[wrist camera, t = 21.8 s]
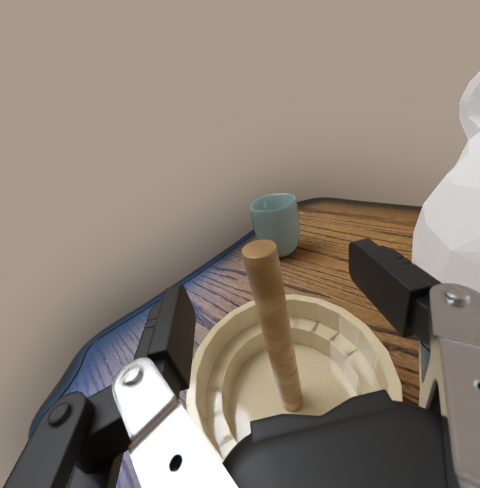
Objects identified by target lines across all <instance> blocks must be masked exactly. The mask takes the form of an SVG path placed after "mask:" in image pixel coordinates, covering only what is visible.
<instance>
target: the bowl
mask: <svg viewBox="0 0 480 488" xmlns="http://www.w3.org/2000/svg"><path fill="white" fill-rule="evenodd" d="M285 297H286V303H287V309H288V314H289V320H290V326H291V332H292V338H293V343H294V349H295V355H296V361H297V366H298V372H299V378H300V384H301V390H302V395H303V405H302V407H301V408H300V409H299V410H297V411H295V412H291V411H288V410H286V409H285V408H284V407H283V406H282V404H281V401H280V397H279V393H278V390H277V386H276V382H275V378H274V374H273V370H272V367H271V363H270V359H269V355H268V351H267V348H266V344H265V340H264V336H263V332H262V328H261V325H260V321H259V317H258V313H257V309H256V306H255V302H254V300H253V301H250V302H248V303H246V304H244V305H242V306H240V307H238V308H236V309H235V310H233V311H231V312H230V313H228V314H227V315H226V316H225V317H224V318H223V319H222V320H220V321H219V322H218V323H217V324H216V325H215V326H213V328H212V329H211V330H210V332H209V333H208V334H207V336H206V337H205V339H204V340H203V342H202V343H201V344H200V346H199V347H198V349H197V351H196V354H195V357H194V359H193V362H192V366H191V377H190V388H189V389H187V395H186V410H187V413H188V415H189V416H190V417H191V419H192V420H193V422H194V423H195V425H196V426H197V428H198V429H199V431H200V432H201V434H202V435H203V437H204V438H205V440H206V441H207V442H208V444H209V445H210V447H211V448H212V450H213V451H214V453H215V454H216V456H217V457H218V459H219V460H220V462H221V463H223V461H224V459H225V458H226V456H227V455H228V454H229V452H230V451H231V450H232V448H233V447H234V446H235V445H236V444H237V443H238V442H239V441H241V440H242V439H243V438H244V437H245V436H247V435H249V434H250V433H251V428H250V421H253V420H258V419H262V418H266V417H270V416H274V415H279V414H299V415H315V416H319V415H323V414H325V413H326V412H328V411H330V410H331V409H333V408H335V407H336V406H338V405H339V404H341V403H343V402H344V401H346V400H348V399H349V398H351V397H354V396H358V395H362V394H366V393H370V392H375V391H379V390H383V389H385V390H386V391H387V393H388V394H389V396H390V397H391V399H392V400H396V401H402V402H403V396H402V384H401V382H400V379H399V377H398V374H397V372H396V369H395V367H394V364H393V362H392V360H391V357H390V355H389V352H388V351H387V349H386V348H385V347H384V346H383V344H382V343H381V342H380V341H379V339H378V338H377V337H376V336H375V334H374V333H373V332H372V331H371V329H370V328H369V327H368V326H367V325H366V324H365V323H363V322H362V321H360V320H359V319H358V318H356V317H355V316H354V315H352V314H351V313H350V312H348V311H347V310H345V309H344V308H342V307H339V306H337V305H334V304H332V303H330V302H327V301H325V300H322V299H319V298H314V297H309V296H303V295H297V294H296V295H295V294H289V295H285Z"/></svg>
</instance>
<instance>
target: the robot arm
mask: <svg viewBox="0 0 480 488" xmlns="http://www.w3.org/2000/svg"><path fill="white" fill-rule="evenodd" d="M349 273H350V276H351V279H352V280H353V282H354V283H355V284H356V285H357V286H358V288H359V289H360V290H361V291H362V292H363V293H364V294H365V295H366V297H367V298H368V299H369V300H370V301H371V302H372V303H373V305H374V306H375V307H376V308H377V309H378V310H379V311H380V312H381V314H382V315H383V316H384V317H385V318H386V319H387V320H388V321H389V323H390V324H391V325H392V326H393V327H394V328H395V329H396V330H397V332H398V333H399V334H400V335H401V336H402V337H403V338H404V337H408V336H412V335H416V336H417V337H418V339H419V343H418V352H419V380H420V395H419V405H418V406H417V405H414V404H410V403H407V402H402V401H396V400H392V399H391V397H390V396H389V394H388V393H387V391H386V390H385V389H383V390H379V391H375V392H370V393H366V394H362V395H358V396H354V397H351V398H349V399H348V400H346V401H344V402H343V403H341V404H339V405H338V406H336V407H335V408H333V409H331V410H330V411H328V412H326V413H325V414H323V415H319V416H315V415H299V414H279V415H274V416H270V417H266V418H262V419H258V420H253V421H250V428H251V433H250V434H249V435H247V436H245V437H244V438H243V439H242V440H241V441H239V442H238V443H237V444H236V445H235V446H234V447H233V448H232V450H231V451H230V452H229V454H228V455H227V456H226V458H225V459H224V461H223V463H221V462H220V460H219V459H218V457H217V456H216V454H215V453H214V451H213V450H212V448H211V447H210V445H209V444H208V442H207V441H206V440H205V438H204V437H203V435H202V434H201V432H200V431H199V429H198V428H197V426H196V425H195V423H194V422H193V420H192V419H191V417H190V416H189V415H188V413H187V412H186V410H185V409H184V407H183V406H182V404H181V403H180V401H179V394H180V391H182V390H186V389H189V388H190V377H191V366H192V356H193V345H194V334H195V323H196V317H195V311H194V308H193V306H192V303H191V301H190V299H189V297H188V294H187V292H186V290H185V288H184V286H183V285H178V286H174V287H170V288H166V289H165V292H164V296H163V299H162V301H158V302H156V304H155V305H154V306H153V308H152V309H151V310H150V312H149V315H148V318H147V322H146V324H145V327H144V330H143V333H142V336H141V339H140V342H139V345H138V347H137V350H136V353H135V356H134V359H133V361H131V362H129V363H128V364H126V365H125V366H124V367H123V368H122V369H121V370H120V371H119V372H118V374H117V375H116V377H115V379H114V381H113V383H112V385H110V386H108V387H107V388H105V389H103V390H101V391H99V392H97V393H96V394H94V395H92V396H90V397H88V398H87V397H86V396H85V395H84V394H83V393H82V392H79V391H75V392H71V393H69V394H66V395H65V396H63V397H61V398H60V399H58V400H57V401H56V402H55V403H54V404H52V405H51V406H50V407H49V408H48V410H47V411H46V412H45V413H44V414H43V416H42V417H41V419H40V420H39V422H38V424H37V426H36V428H35V429H34V431H33V433H32V435H31V437H30V439H29V440H28V442H27V444H26V446H25V448H24V450H23V451H22V453H21V455H20V457H19V459H18V461H17V462H16V464H15V466H14V468H13V470H12V472H11V473H10V475H9V477H8V479H7V481H6V483H5V485H4V486H3V488H66V487H67V488H116V484H117V479H118V475H119V471H120V466H121V462H122V458H123V453H124V452H125V451H127V450H129V454H130V457H131V459H132V462H133V465H134V467H135V470H136V473H137V475H138V478H139V481H140V483H141V486H142V488H480V293H479V292H477V291H476V290H474V289H471V288H469V287H466V286H463V285H459V284H453V283H441V282H440V281H438V280H437V279H436V278H434V277H433V276H431V275H430V274H428V273H427V272H426V271H424V270H423V269H421V268H420V267H418V266H417V265H415V264H412V262H411V261H410V260H408V259H407V258H404V256H403V255H401V254H400V253H398V252H397V251H395V250H393V249H390V248H387V247H385V246H378V245H377V244H375V243H374V242H373V241H371V240H370V239H368V238H366V239H362V240H358V241H354V242H351V243H350V244H349ZM74 466H75V467H74ZM73 468H74V469H73ZM72 470H73V472H72ZM71 473H72V475H71ZM70 476H71V477H70ZM69 478H70V480H69ZM68 481H69V483H68ZM67 484H68V486H67Z"/></svg>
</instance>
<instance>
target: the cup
mask: <svg viewBox="0 0 480 488" xmlns="http://www.w3.org/2000/svg"><path fill="white" fill-rule="evenodd" d="M250 212H251V217H252V222H253V226H254V230H255V234H256V238H257V240H263V239H265V240H271V241H273V242H274V243H275V244H276V246H277V251H278V257H285V256H288V255H290V254H291V253H293V252H294V250H295V249H296V248H297V246H298V242H299V234H300V228H299V216H298V207H297V200H296V197H295V196H294V195H293V194H289V193H278V194H270V195H266V196H263V197H260V198H258V199H256V200H255V201H253V202H252V203H251V205H250Z"/></svg>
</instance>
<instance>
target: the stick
mask: <svg viewBox="0 0 480 488" xmlns="http://www.w3.org/2000/svg"><path fill="white" fill-rule="evenodd" d="M242 256H243V260H244V264H245V267H246V271H247V275H248V279H249V283H250V286H251V290H252V294H253V298H254V302H255V306H256V309H257V313H258V317H259V321H260V325H261V328H262V332H263V336H264V340H265V344H266V348H267V351H268V355H269V359H270V363H271V367H272V370H273V374H274V378H275V382H276V386H277V390H278V393H279V397H280V401H281V404H282V406H283V407H284V408H285V409H286V410H288V411H291V412H295V411H297V410H299V409H300V408H301V407H302V405H303V395H302V390H301V384H300V378H299V372H298V366H297V361H296V355H295V349H294V343H293V338H292V332H291V326H290V320H289V314H288V309H287V303H286V297H285V291H284V286H283V280H282V274H281V268H280V262H279V257H278V251H277V246H276V244H275V243H274V242H273V241H271V240H265V239H263V240H256V241H253V242H250V243H248V244H247V245H245V246H244V248H243V249H242Z"/></svg>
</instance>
